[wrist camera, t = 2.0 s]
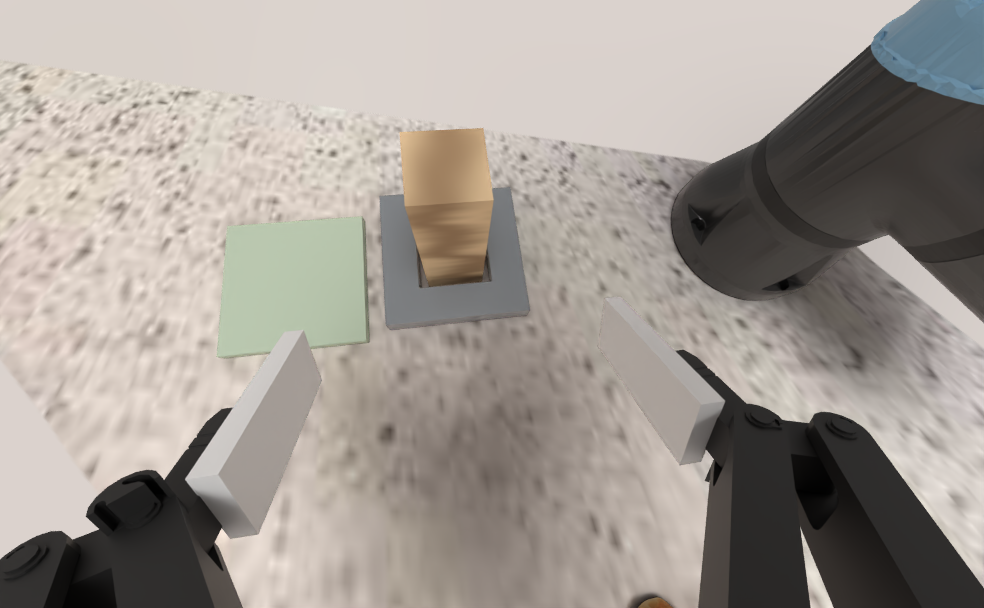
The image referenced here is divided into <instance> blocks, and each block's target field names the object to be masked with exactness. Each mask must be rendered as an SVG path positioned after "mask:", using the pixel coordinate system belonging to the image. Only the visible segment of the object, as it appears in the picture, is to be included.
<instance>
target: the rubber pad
mask: <svg viewBox="0 0 984 608" xmlns="http://www.w3.org/2000/svg"><path fill="white" fill-rule="evenodd" d="M297 330H304V332H305V335H306V338H307V340H308V343H309V346H310V349H314V348H323V347H332V346H341V345H350V344H359V343H368V342H369V323H368V294H367V266H366V237H365V221H364V219H363V217H362V216H361V217H348V218H334V219H320V220H306V221H293V222H279V223H265V224H252V225H238V226H227V235H226V248H225V260H224V272H223V285H222V297H221V310H220V322H219V335H218V347H217V357H220V358H233V357H242V356H251V355H260V354H269V353H270V352H271V351H272V349H273V348H274V346H275V345H276V343H277V342H278V340H279V339H280V337H281V336H282V334H283V333H284V332H287V331H297Z"/></svg>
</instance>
